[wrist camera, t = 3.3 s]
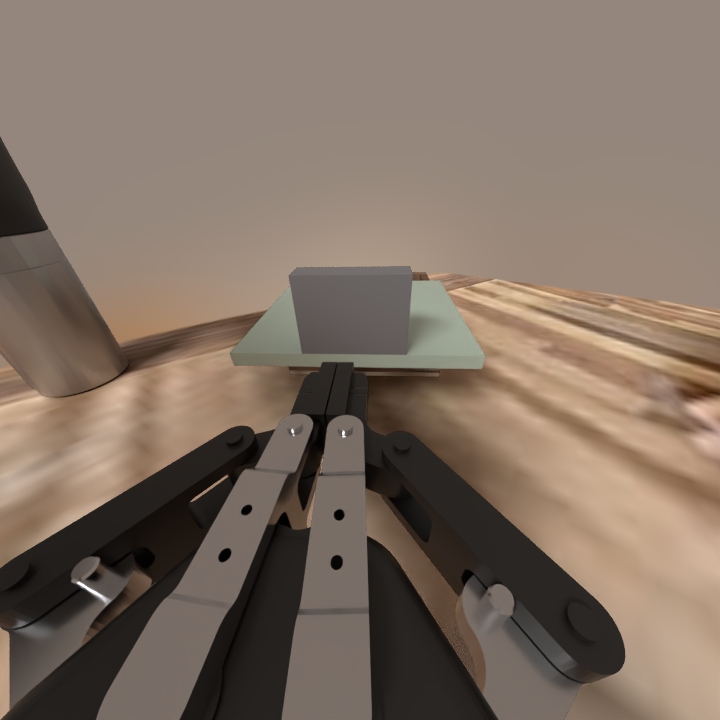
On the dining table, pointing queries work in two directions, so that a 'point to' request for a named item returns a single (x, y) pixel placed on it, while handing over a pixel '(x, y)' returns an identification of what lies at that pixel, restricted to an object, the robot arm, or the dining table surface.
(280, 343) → the lid
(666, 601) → the dining table surface
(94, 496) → the dining table surface
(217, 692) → the robot arm
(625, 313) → the dining table surface
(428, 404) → the dining table surface
